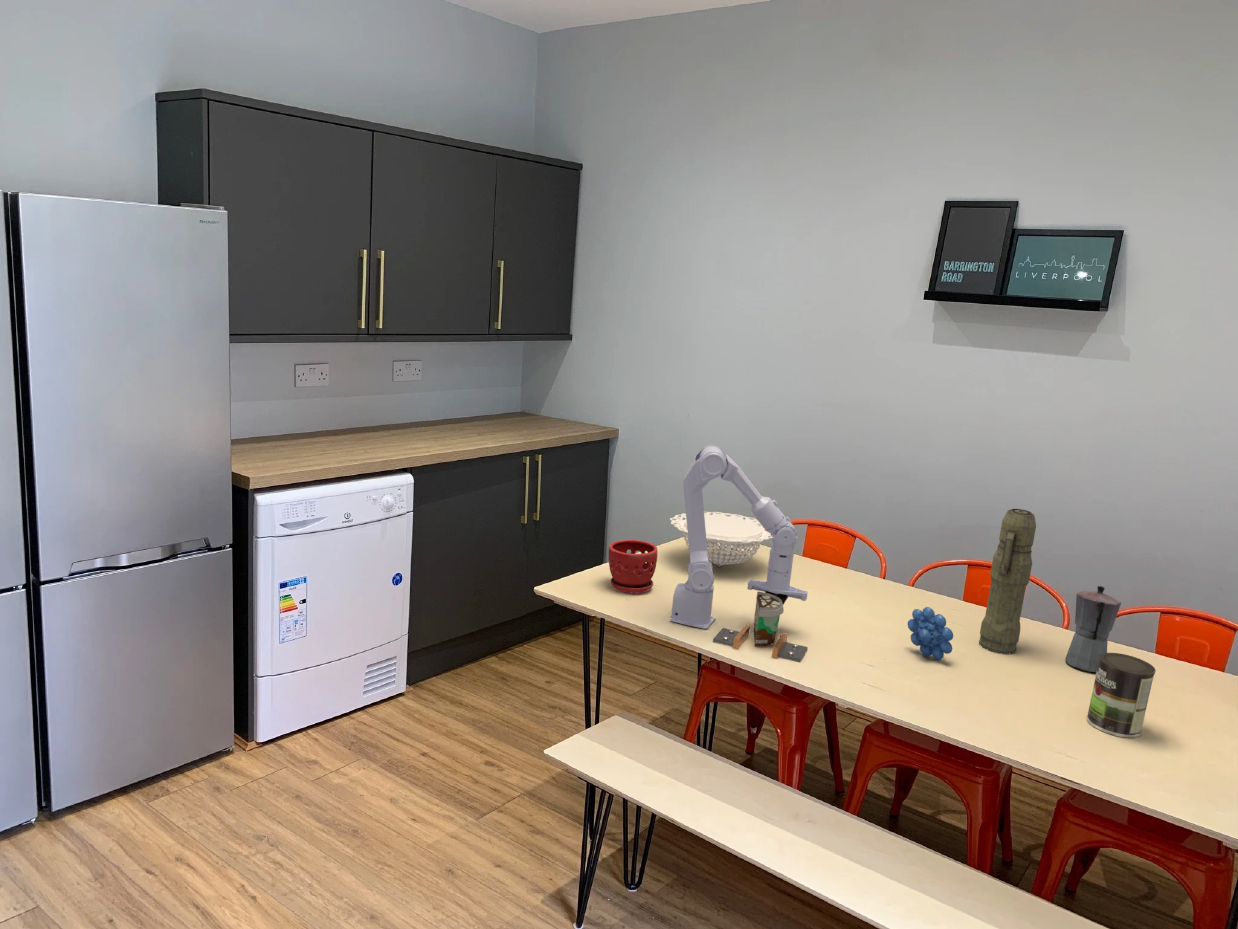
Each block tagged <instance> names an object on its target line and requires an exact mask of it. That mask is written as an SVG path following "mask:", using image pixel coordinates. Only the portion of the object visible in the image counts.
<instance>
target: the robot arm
mask: <svg viewBox="0 0 1238 929" xmlns="http://www.w3.org/2000/svg"><path fill="white" fill-rule="evenodd" d="M719 477H720V478H721V480H723V481H728V482H731V483H732V484H733V485H734V486H735V487H736V489H738V491H739V492H740V493H741V495H743V496H744V497H745V498H746V500H747V501H748V502H749V503H750V504H751V508H750V509H751V510H750V514H752V515H753V517H754V518H755V519H757V520H758V521H759V522H760V524H761V525H762V526H763V528H764V529H765V531H767V532H769V533H771V536H772V537H773V538H772V540H771V547H770V550H769V559H768V566H767V572H766V581H764V580H763V581H762V580H761V581H760V580H753V579H749V580H748V582H747V588H746V589H747V590H749V591H752V590H754V591H758V592H764V593H768V594H772V595H774V596H776V597H778V598H780V599H781V600H782V603H783V606H784V605H785V603H786V601H787V600H788V598H792V599H798V600H801V601H803V602H806V600H807V599H808V591H807V590H802V589H800V588H796V587H795V586H794V587H793V586H791V578H792V570H793V563H794V556H795V555H794V554H795V553H794V550H795V546H796V545H797V543H798V541H799V538H798V533H797V531H796V529H795V526H794V524H793V522H792V520H790V518H789V516H788V515H786V516H785V514H784V513H783V512H782V511H781V509H780V508H779V507H778V502H777V501H776V500H775V499H773V500H772V498H771V497H768V496H763V495H761V494H760V492H759V491H758V489H756V487H755V486H754V485H753V483H752V482H751V480H750V479H749V478H748V477H747V475H746V474H745V473H744V472H743V469H741V467H740V466H739V465H738V464H737V463H736V462H735V460H733V459H732V458H731V457H730V456H729V455H728V454H727V453H726V454H725V453H724V450H723V448H722V447H720V446H719V445H716V444H708V445H705V446H704V447H702V449H700V450H699V451H698V452H697V453H696V454H695V456H694V458H693V460H692V462H691V463H690V466H689V467H688V469H687V471H686V472H685V475H684V477H683V480H682V486H683V487H682V488H683V496H684V499H683V500H684V506H685V507H684V508H685V513H686V520H687V530H688V538H687V540H689V544H688V545H689V548H688V550H689V561H688V564H687V573H688V575H687V577H688V578H687V580H686V581H685V583H677V584H676V586H675V588H674V592H673V596H672V605H671V606H672V607H671V616H670V618H669V621H670V622H672V623H676V624H681V625H686V626H690V627H695V628H699V629H703V630H707V629H708V628H709V627H710V626H711V625H712V624H713V623H714V622H715V621H716V617H713V616H712V608H713V607H712V606H713V599H714V591H715V586H714V582H715V575H714V574H713V572H714V570H713V569H714V567H713V563H712V562H710V560H709V558H708V557H709V556H708V553H709V552H708V550H707V549H708V547H707V539H706V529H705V518H704V513H705V512H704V511H705V508H704V507H705V506H704V499H703V497H704V496H703V489H704V488H705V487H706V485H707V484H709V482H710V481H712V480H714V479H716V478H719ZM761 525H760V526H761Z"/></svg>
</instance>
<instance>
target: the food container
mask: <svg viewBox="0 0 1238 929" xmlns="http://www.w3.org/2000/svg"><path fill="white" fill-rule="evenodd" d="M756 591H757V593H756V602H755V609H754V610H755V611H754V619H753V630H752V632H753V634H752V635H753V641H754V647H768V646H772V645H775V643H776V636H777V632H778V631H777V630H778V627H779V622H780V617H781V615H782V614H783V613H784V605H783V603H782V600H781V599H780V598H778V597H776V596H774V595H772V594H768V593H765V592H763V591H758V590H756Z"/></svg>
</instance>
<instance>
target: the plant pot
mask: <svg viewBox="0 0 1238 929" xmlns="http://www.w3.org/2000/svg"><path fill="white" fill-rule="evenodd" d="M628 550H629V551H630V553H628V552H627V551H628ZM637 551H638V552H640V553H636V552H637ZM657 563H658V548H657V546H656V545H655V544H654V543H651V542H648V541H645V540H636V539H623V540H617V541H613V542H612V543H610V544H609V545H608V564H609V565H608V567H609V571H610V575H611V579H610V584H611V586H612V587H613V588H614V589H615V590H617V591H619V592H622V593H626V594H627V593H628V594H633V595H636V594H642V593H646V592H648V591H650V590H651V589H652V588H653V586H654V581H653V580H652V578H653V576H654V574H655V571H656V569H657Z"/></svg>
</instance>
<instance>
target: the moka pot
mask: <svg viewBox="0 0 1238 929" xmlns="http://www.w3.org/2000/svg"><path fill="white" fill-rule="evenodd" d="M1105 589H1106V588H1105V587H1104V586H1101V585H1100V586H1099V585H1098V586H1097V591H1087V590H1086V591H1084V590H1082V591H1080V592H1077V593H1076V594H1075V595H1076V597H1075V600H1076V601H1075V617H1074V618H1075V619H1074V624H1075V625H1076V626H1075V630H1074V631H1075V632H1074V634H1073V637H1072V640H1071V642H1070V645H1069V647H1068V649H1067V653H1066V656H1065V659H1064V660H1065V662H1066V664H1067V665H1069V666H1071V667H1073V668H1076V669H1079V670H1081V671H1085V672H1090V673H1096V672H1097V668H1098V663H1099V655H1101V654H1103V653H1108V642H1109V641H1108V638H1109V635H1110V632H1112V630H1113V628H1114V625H1115V622H1116V620H1117V616H1118V614H1119V611H1120V608H1121V605H1122V602H1121V601H1120V600H1118V599H1117V598H1115V597H1113V596H1111V595H1108V594H1105V593H1104V591H1105Z"/></svg>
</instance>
